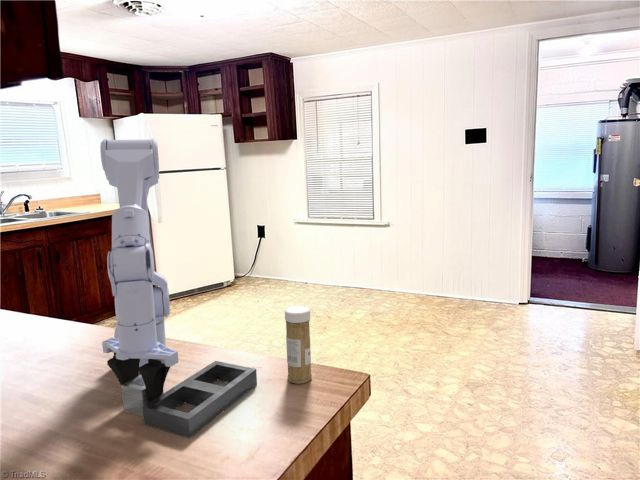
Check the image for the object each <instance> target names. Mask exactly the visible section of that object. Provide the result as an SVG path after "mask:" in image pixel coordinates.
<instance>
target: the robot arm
mask: <svg viewBox="0 0 640 480" xmlns="http://www.w3.org/2000/svg"><path fill="white" fill-rule="evenodd" d="M99 147H100V149H99V150H100V159H101V160H100V161H101V167H102V170H103V171H104V174H105V178H106V180H107V181H108V184H109V186H111V187H114V188H116V189H117V195H118V205H119V207H118V208H117V209H116V210H115V211H114V212H113V213H112V214H111V251H109V250H108V252H107V255H106V256H107V258H106V261H107V263H106V265H107V274H108V278H109V281H110V285H111V294H112V297H114V309H115V311H114V312H115V313H114V314H115V317H116V324H117V325H116V327H115V328H114V337H110V338H108V339H106V340H103V341H101V342H102V343H101V344H102V345H101V346H102V352H103V354H109V353H113V355H112V357H111V358H109V359H108V360H107V362H106V364H107V367H109V369H110V370H111V371H112V372H113V373H114V375H115V376H116V378H117V380H118V382H119V384H120V386H121V385H122V384H124V383H126V382H128V381H130V380H132V379H133V378H135V377H137V376H139V375H141V376H142V378H143V381H144V383H145V387H146V393H147V399H148V402H151V401H152V400H154V399H155V398H157V397H159V396H160V395H162V392H163V391H164V386H165V381H166V379H167V376H168V373H169V371H170V368H171V367H174V366H175V365H176V364H178V363H179V352H178V350H174V349H172V348H170V347H167V340H166V327H165V318H168V317H169V316H170V315H171V306H170V305H171V303H170V292H169V286H168V280H167V279H166V277H165V276H164V275H161V274H160V273H159V272H157V271H155V259H154V251H153V248H152V245H151V235H150V217H149V208H148V207H149V206H148V196H149V193H150V188H151V187H154V186H156V185H158V184H159V179H160V161H159V160H160V159H159V149H158V147H159V146H158V141H157V140H156V139H155V138H150V139H108V138H103V140H102V141H101V142H100V146H99ZM139 373H140V374H139Z"/></svg>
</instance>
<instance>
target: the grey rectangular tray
mask: <svg viewBox="0 0 640 480" xmlns="http://www.w3.org/2000/svg"><path fill="white" fill-rule="evenodd" d="M257 377H258V376H257V369H256V368H253V367H248V366H243V365H237V364H233V363H228V362H223V361H219V360H214V361H213V362H211V363H209V364H208V365H206V366H205V367H204V368H202V369H200V370H198V371H197V372H195V373H194V374H192V375H190V376H189V377H187V378H185V379H184V380H183V381H181V382H179V383H177V384H176V385H174V386H173V387H171V388H170V389H168V390H167V391H165V392H164V393H163V394H162V395H160V396H159V397H157V398H155V399H154V400H152V401H151V402H149V403H147V404H146V405H144V406H143V416H142V417H143V425H144V426H148V427H152V428H155V429H158V430H161V431H165V432H169V433H173V434H175V435H178V436H182V437H186V438H189V439H191V438H192V437H194V436H195V435H196V434H197V433H198V432H199V431H201V430H202V429H203V428H204V427H206V426H207V425H209V423H211V422H212V421H213V420H215V419H216V418H217V417H218V416H220V415H221V414H222V413H223V412H225V411H226V410H227V409H228V408H231V406H232V405H233V404H235V403H236V402H238V400H240V399H241V398H242V397H243V396H245V395H247V393H249V392H250V391H251V390H252V389H254V388H255V387H256V386H257V385H258V378H257ZM217 381H222V382H226V383H228V384H226V385H225V386H222V385H217V384H214V383H215V382H217ZM183 404H188V405H191V406H195V407H194V408H193V409H191V410H190V411H189V412H184V411H180V410H178V409H177V408H179V407H180V406H182V405H183ZM176 409H177V410H176Z"/></svg>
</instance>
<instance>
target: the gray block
mask: <svg viewBox="0 0 640 480" xmlns="http://www.w3.org/2000/svg"><path fill="white" fill-rule="evenodd" d="M138 375H139V376H137V377H135V378H133V379H132V380H130V381H128V382H126V383H124V384H122V385H120V387H121V396H122V398H121V399H122V407H123V411H124V412H127V413H129V414H134V415H137V416H140V417H143V406H144V405H146V404H147V403H149V402H148V399H147V393H146V387H145V383H144V381H143V378H142V376H141V374H138ZM163 393H165V392H164V390H163V392H162V394H163Z"/></svg>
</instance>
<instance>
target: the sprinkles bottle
mask: <svg viewBox="0 0 640 480" xmlns="http://www.w3.org/2000/svg"><path fill="white" fill-rule="evenodd" d="M284 320H285V329H286V332H285V333H286V335H285V339H286V340H285V341H286V342H285V343H286V345H285V346H286V363H287V381H288V382H290V383H293V384H298V385H300V384H306V383H307V382H310V381H311V380H312V377H313V376H312V367H311V362H312V360H311V359H312V354H311V336H310V335H311V333H310V321H311V309H310V308H309V307H307V306H303V305H293V306H289V307H286V309H284Z"/></svg>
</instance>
